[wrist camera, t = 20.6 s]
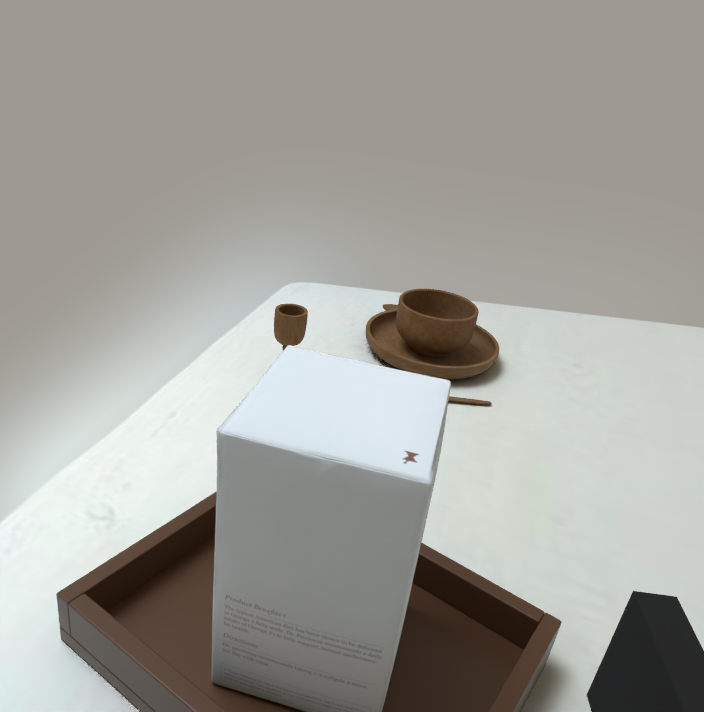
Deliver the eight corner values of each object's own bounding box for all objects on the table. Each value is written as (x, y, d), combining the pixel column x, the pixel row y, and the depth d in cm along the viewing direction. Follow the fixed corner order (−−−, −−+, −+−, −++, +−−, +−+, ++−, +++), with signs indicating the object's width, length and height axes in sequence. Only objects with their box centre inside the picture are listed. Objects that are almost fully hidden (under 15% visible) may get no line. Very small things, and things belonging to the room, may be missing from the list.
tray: (60, 638, 29) (55, 593, 28) (266, 495, 40) (270, 456, 38) (397, 944, 21) (412, 899, 20) (546, 662, 31) (562, 620, 30)
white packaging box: (408, 602, 33) (460, 378, 27) (376, 741, 26) (435, 485, 20) (267, 560, 34) (287, 339, 28) (202, 684, 27) (212, 427, 22)
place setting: (519, 411, 52) (538, 344, 50) (265, 389, 50) (271, 318, 48) (473, 320, 68) (486, 266, 65) (277, 300, 66) (282, 244, 63)
